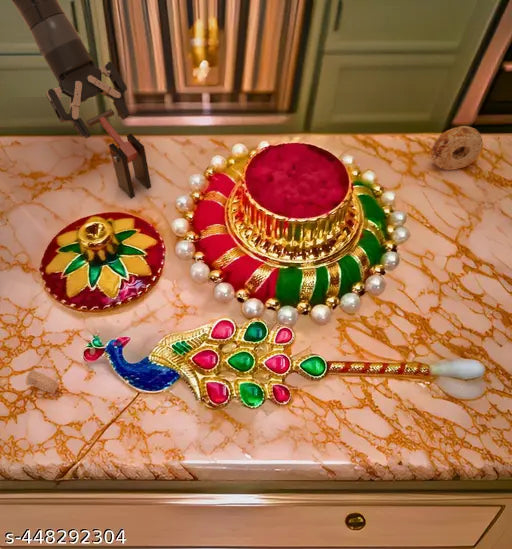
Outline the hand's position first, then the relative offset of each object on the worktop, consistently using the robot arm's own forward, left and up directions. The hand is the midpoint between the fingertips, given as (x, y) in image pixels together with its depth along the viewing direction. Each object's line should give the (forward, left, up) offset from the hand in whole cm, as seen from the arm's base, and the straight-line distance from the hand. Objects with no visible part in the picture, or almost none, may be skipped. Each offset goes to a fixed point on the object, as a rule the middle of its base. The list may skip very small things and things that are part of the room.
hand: (107, 127), depth 111 cm
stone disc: (+62, +36, -13) cm, 73 cm away
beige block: (+17, -45, -13) cm, 50 cm away
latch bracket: (+6, -2, -12) cm, 14 cm away
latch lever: (+2, -1, -1) cm, 3 cm away
